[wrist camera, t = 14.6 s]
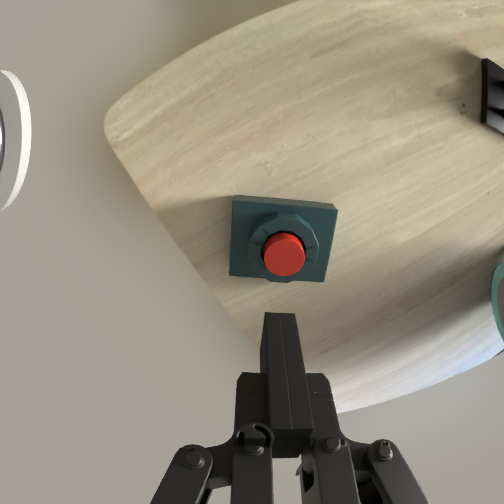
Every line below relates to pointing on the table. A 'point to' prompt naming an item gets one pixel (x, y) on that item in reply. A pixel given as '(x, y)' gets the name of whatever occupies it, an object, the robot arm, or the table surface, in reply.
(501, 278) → the alarm clock
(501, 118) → the bracket
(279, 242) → the button
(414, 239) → the table surface
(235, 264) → the button box
